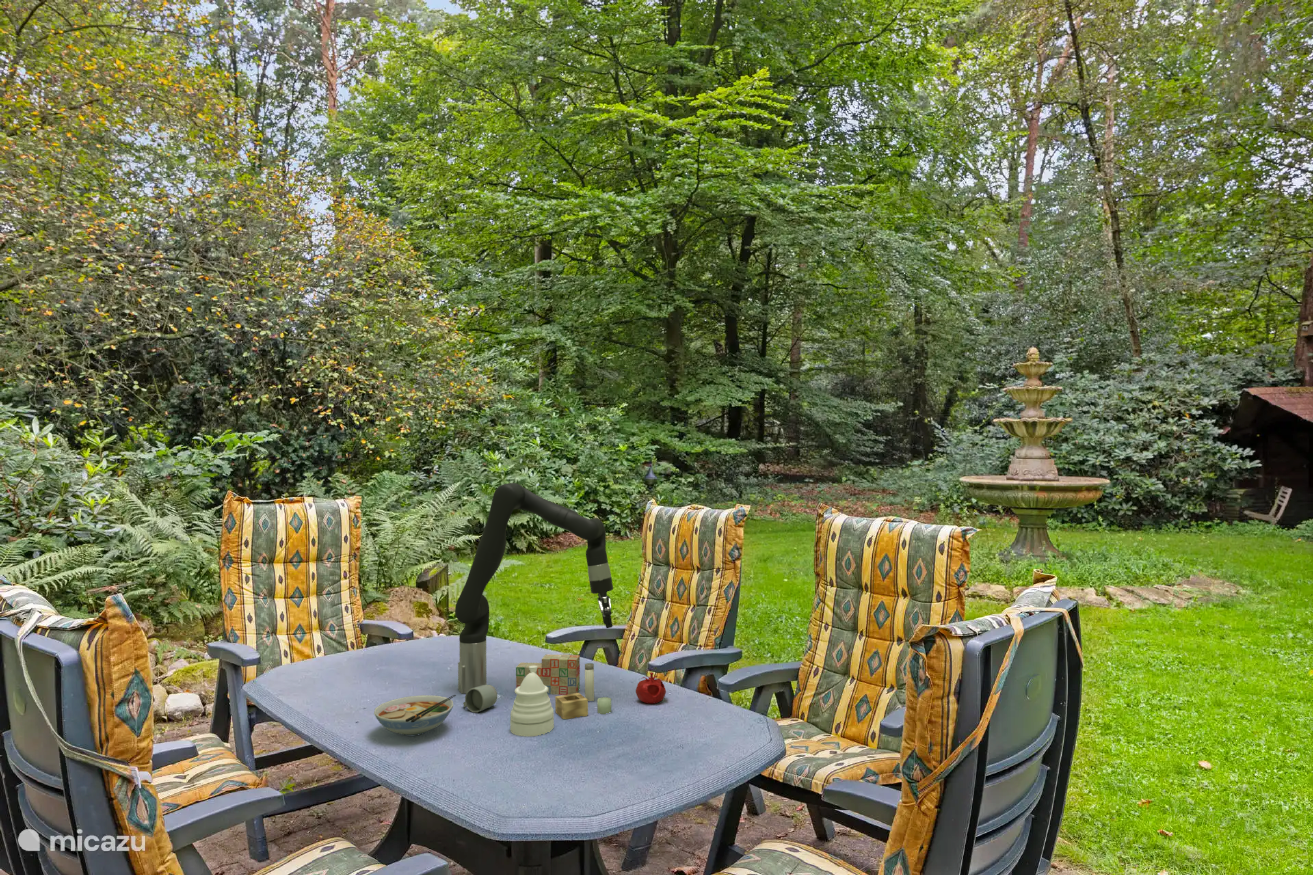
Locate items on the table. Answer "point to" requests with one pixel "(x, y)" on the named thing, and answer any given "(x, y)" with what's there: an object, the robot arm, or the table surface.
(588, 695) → the cream capped cylinder
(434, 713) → the ramen bowl
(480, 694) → the ceramic mug
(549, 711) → the honey pot
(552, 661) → the stack of blocks
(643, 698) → the pomegranate
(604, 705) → the bead
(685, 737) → the table surface
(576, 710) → the bead block
